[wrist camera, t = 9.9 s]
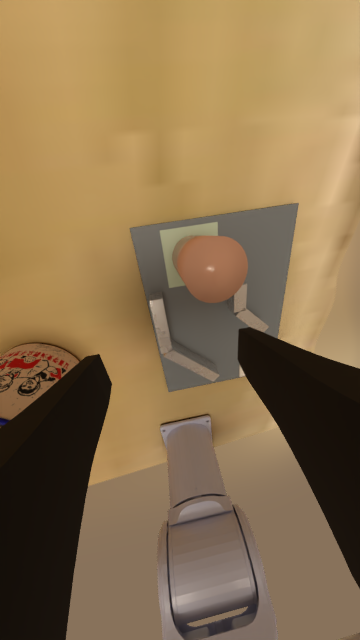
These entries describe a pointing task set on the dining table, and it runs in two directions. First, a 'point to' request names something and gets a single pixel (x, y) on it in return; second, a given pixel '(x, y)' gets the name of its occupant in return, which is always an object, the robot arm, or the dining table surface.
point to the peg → (210, 266)
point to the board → (215, 318)
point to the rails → (185, 355)
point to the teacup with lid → (29, 375)
